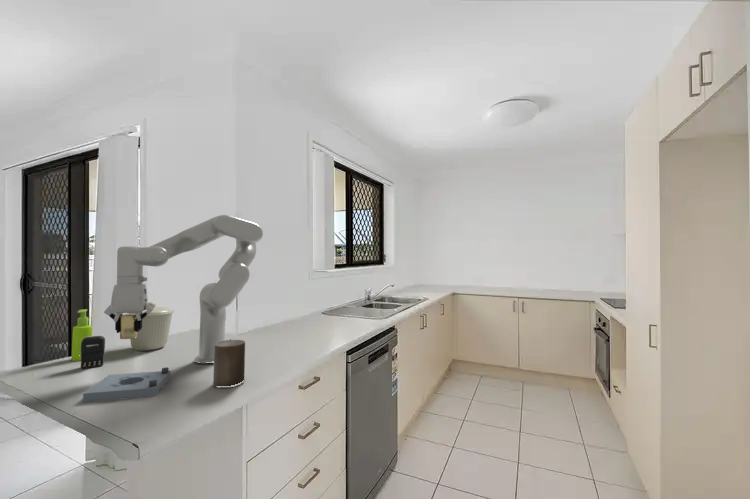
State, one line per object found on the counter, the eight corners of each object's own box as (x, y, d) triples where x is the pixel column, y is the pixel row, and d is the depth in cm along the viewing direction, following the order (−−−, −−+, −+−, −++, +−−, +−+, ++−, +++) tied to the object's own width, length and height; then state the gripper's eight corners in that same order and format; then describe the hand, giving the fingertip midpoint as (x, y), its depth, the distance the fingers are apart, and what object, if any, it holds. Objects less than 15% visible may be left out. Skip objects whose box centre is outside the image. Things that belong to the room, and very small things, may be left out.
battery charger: (79, 370, 121) (80, 338, 122) (80, 367, 124) (81, 336, 125) (103, 366, 125) (105, 336, 126) (104, 364, 129) (105, 334, 129)
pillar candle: (249, 383, 112) (250, 339, 113) (219, 391, 105) (221, 343, 106) (237, 376, 119) (238, 334, 120) (208, 383, 112) (210, 338, 113)
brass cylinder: (139, 335, 122) (139, 313, 122) (134, 338, 117) (134, 315, 117) (123, 336, 120) (123, 314, 120) (117, 339, 116) (117, 316, 116)
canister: (119, 355, 140) (121, 305, 141) (130, 344, 157) (133, 300, 157) (168, 351, 147) (170, 304, 148) (175, 341, 164) (176, 299, 165)
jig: (170, 377, 116) (170, 366, 116) (154, 396, 101) (155, 382, 101) (109, 382, 111) (109, 370, 111) (82, 402, 95) (83, 388, 95)
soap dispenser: (68, 362, 129) (70, 311, 130) (74, 357, 136) (76, 308, 136) (87, 360, 132) (89, 310, 133) (92, 356, 138) (94, 308, 139)
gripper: (160, 279, 125) (159, 328, 125) (106, 280, 120) (105, 330, 120) (153, 281, 118) (152, 332, 118) (96, 282, 113) (94, 335, 113)
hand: (128, 331), depth 119 cm, fingers closed on brass cylinder, 5 cm apart
